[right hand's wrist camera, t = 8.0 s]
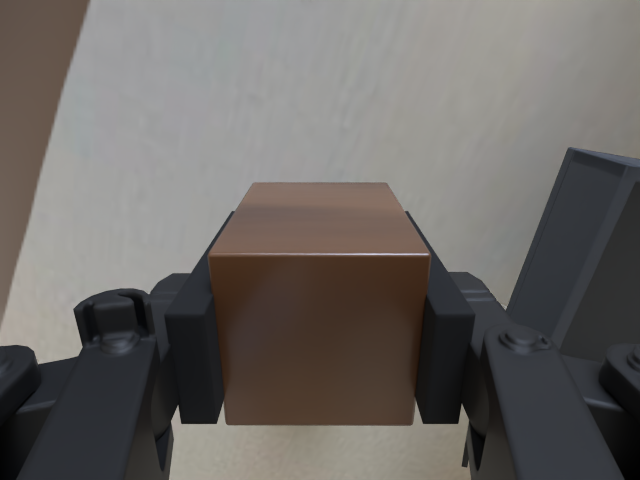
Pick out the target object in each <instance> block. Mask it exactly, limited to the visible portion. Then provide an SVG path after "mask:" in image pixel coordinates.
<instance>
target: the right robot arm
mask: <svg viewBox="0 0 640 480" xmlns="http://www.w3.org/2000/svg"><path fill="white" fill-rule="evenodd" d="M234 212H235V211H232V212H231V213H230V215H229V216H228V218H227V220H226V221H225V223H224V224H223V226H222V227H221V229H220V230H219V232H218V233H217V235H216V236H215V238H214V239H213V241H212V242H211V244H210V245H209V247H208V248H207V250H206V251H205V253H204V254H203V256H202V257H201V259H200V260H199V262H198V263H197V265H196V266H195V268H194V270H193V271H192V273H173V274H171V275H169V276H168V277H166V278H164V279H163V280H161V281H159V282H158V283H157V285H156V286H155V287H154V288H153V290H152V291H151V292H150V294H147V293H146V292H144V291H142V290H138V289H115V290H110V291H105V292H102V293H99V294H96V295H93V296H91V297H89V298H87V299H85V300H83V301H82V302H80V303H79V304H78V305H77V306H76V307H75V308H74V309H73V310H74V314H75V318H76V322H77V326H78V330H79V334H80V338H81V342H82V346H83V348H82V350H81V352H80V354H79V356H77V357H73V358H69V359H64V360H59V361H54V362H49V363H43V364H38V363H37V360H36V356H35V353H34V351H33V350H31V349H30V348H29V347H27V346H20V345H11V346H0V480H169V474H170V466H171V458H172V450H173V442H174V437H173V431H172V425H171V420H172V417H173V415H174V413H175V410H176V408H177V406H179V412H180V418H181V424H217V421H218V417H219V414H220V411H221V407H222V404H223V401H224V388H223V379H222V370H221V361H220V351H219V342H218V333H217V324H216V314H215V305H214V296H213V294H212V292H211V283H210V274H209V265H208V253H209V251H210V250H211V248H212V247H213V245H214V244H215V242H216V240H217V239H218V237H219V236H220V234H221V233H222V231H223V229H224V228H225V226H226V225H227V223H228V222H229V220H230V218H231V217H232V215H233V214H234ZM405 213H406V215H407V216H408V218H409V219H410V221H411V223H412V224H413V226H414V227H415V229H416V231H417V232H418V234H419V235H420V237H421V239H422V240H423V242H424V244H425V245H426V247H427V248H428V250H429V252H430V253H431V256H432V257H431V266H430V275H429V284H428V293H427V294H426V303H425V312H424V321H423V330H422V340H421V349H420V358H419V367H418V377H417V386H416V395H415V398H416V402H417V405H418V408H419V412H420V415H421V418H422V422H423V424H458V423H459V416H460V410H461V404H463V407H464V409H465V411H466V414H467V416H468V418H469V425H468V431H467V436H466V442H465V448H464V454H463V460H462V467H467V466H468V460H469V465H470V473H471V480H640V344H629V343H620V344H614V345H611V346H610V347H609V348H607V349H606V352H605V355H604V358H603V362H602V363H601V362H596V361H591V360H586V359H580V358H575V357H570V356H566V355H562V354H561V353H560V351H559V349H558V347H557V346H556V344H555V343H554V342H553V341H552V340H551V339H550V338H549V337H547V336H546V335H544V334H543V333H541V332H540V331H537V330H535V329H532V328H530V327H527V326H523V325H518V324H516V323H515V322H514V321H513V320H512V318H511V317H510V316H509V314H508V313H507V312H506V311H505V309H504V308H503V307H502V306H501V304H500V303H499V302H498V301H496V298H495V297H494V296H493V294H492V293H490V291H489V289H488V288H487V287H486V286H485V284H484V283H483V282H482V281H481V280H480V279H478V278H476V277H475V276H473V275H471V274H470V273H468V272H448V271H447V270H446V268H445V267H444V265H443V264H442V262H441V261H440V259H439V258H438V256H437V255H436V253H435V252H434V250H433V249H432V247H431V246H430V244H429V243H428V241H427V240H426V238H425V237H424V235H423V234H422V232H421V230H420V229H419V227H418V226H417V224H416V223H415V221H414V220H413V218H412V217H411V215H410V214H409V212H408V211H405Z"/></svg>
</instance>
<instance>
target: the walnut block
mask: <svg viewBox="0 0 640 480" xmlns="http://www.w3.org/2000/svg"><path fill="white" fill-rule="evenodd" d="M431 257H432V256H431V253H430V252H429V250H428V248H427V247H426V245H425V244H424V242H423V240H422V239H421V237H420V235H419V234H418V232H417V231H416V229H415V227H414V226H413V224H412V223H411V221H410V219H409V218H408V216H407V215H406V213H405V211H404V210H403V208H402V207H401V205H400V203H399V202H398V200H397V199H396V197H395V195H394V194H393V192H392V190H391V189H390V187H389V186H388V184H387V183H253V184H252V186H251V187H250V189H249V190H248V192H247V193H246V195H245V197H244V198H243V200H242V201H241V203H240V204H239V206H238V208H237V209H236V211H235V212H234V214H233V215H232V217H231V218H230V220H229V222H228V223H227V225H226V226H225V228H224V229H223V231H222V233H221V234H220V236H219V237H218V239H217V240H216V242H215V244H214V245H213V247H212V248H211V250H210V251H209V253H208V265H209V274H210V283H211V292H212V294H213V296H214V305H215V314H216V324H217V333H218V342H219V351H220V361H221V370H222V379H223V388H224V401H223V403H224V412H225V421H226V424H227V425H385V426H410V425H412V424H413V421H414V412H415V403H416V398H415V395H416V386H417V377H418V367H419V358H420V349H421V340H422V330H423V321H424V312H425V303H426V294H427V293H428V284H429V275H430V266H431Z"/></svg>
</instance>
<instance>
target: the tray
mask: <svg viewBox="0 0 640 480" xmlns="http://www.w3.org/2000/svg"><path fill="white" fill-rule="evenodd" d="M506 312H507V313H508V314H509V316H510V317H511V318H512V320H513V321H514V322H515V323H516V324H518V325H523V326H527V327H530V328H532V329H535V330H537V331H540V332H541V333H543V334H544V335H546V336H547V337H549V338H550V339H551V340H552V341H553V342H554V343H555V344H556V346H557V347H558V349H559V351H560V353H561V354H562V355H566V356H570V357H575V358H580V359H586V360H591V361H596V362H601V363H602V362H603V358H604V355H605V352H606V349H607V348H609V347H610V346H611V345H614V344H620V343H629V344H640V159H635V158H630V157H624V156H618V155H612V154H606V153H601V152H595V151H589V150H583V149H577V148H572V147H569V148H568V150H567V152H566V155H565V157H564V160H563V163H562V165H561V168H560V170H559V173H558V176H557V178H556V181H555V184H554V186H553V189H552V191H551V194H550V197H549V199H548V202H547V204H546V207H545V210H544V212H543V215H542V218H541V220H540V223H539V225H538V228H537V231H536V233H535V236H534V238H533V241H532V244H531V246H530V249H529V252H528V254H527V257H526V259H525V262H524V265H523V267H522V270H521V272H520V275H519V278H518V280H517V283H516V285H515V288H514V291H513V293H512V296H511V299H510V301H509V304H508V306H507V309H506Z"/></svg>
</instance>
